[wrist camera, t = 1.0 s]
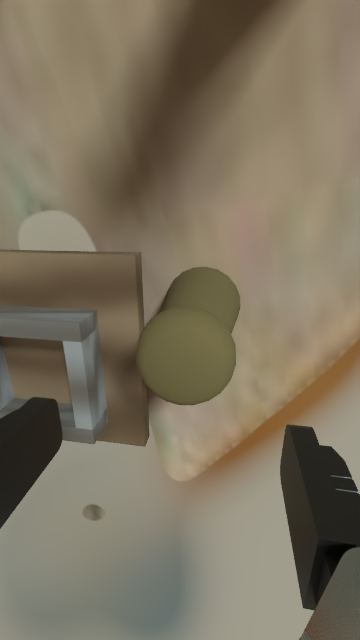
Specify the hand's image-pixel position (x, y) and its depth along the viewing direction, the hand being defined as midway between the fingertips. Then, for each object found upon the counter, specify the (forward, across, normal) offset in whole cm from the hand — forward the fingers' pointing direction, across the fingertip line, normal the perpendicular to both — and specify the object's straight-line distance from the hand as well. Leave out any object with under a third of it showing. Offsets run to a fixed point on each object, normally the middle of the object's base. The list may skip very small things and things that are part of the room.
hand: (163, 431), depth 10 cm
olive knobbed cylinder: (+15, 0, 0) cm, 15 cm away
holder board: (+15, +18, +5) cm, 24 cm away
